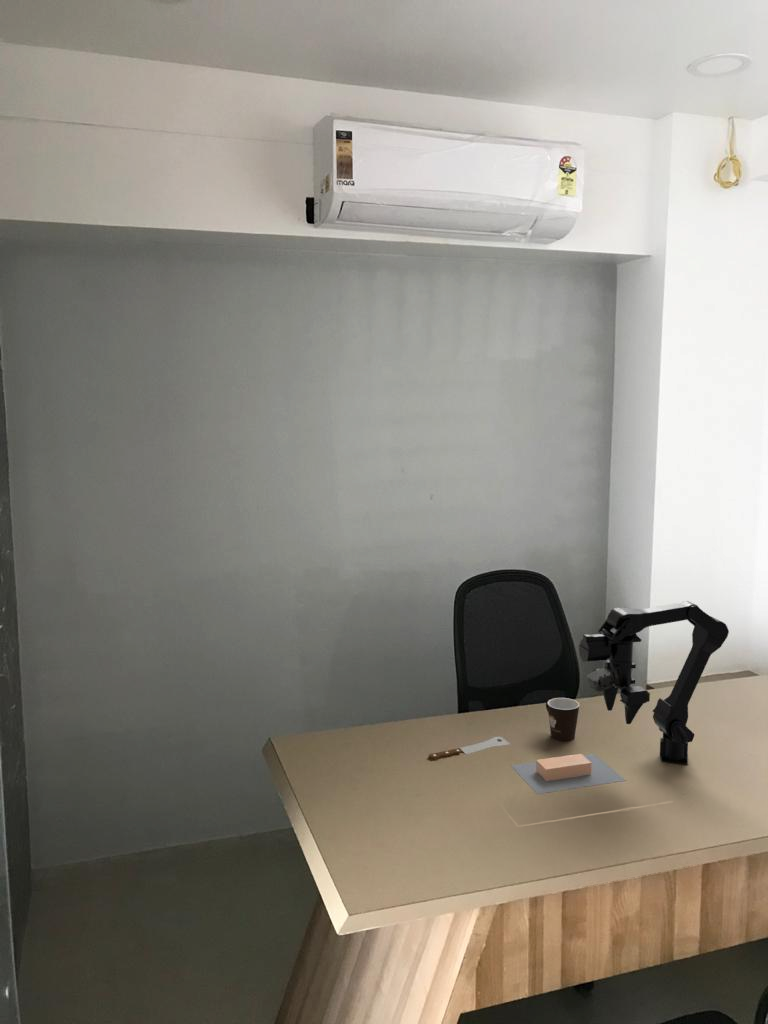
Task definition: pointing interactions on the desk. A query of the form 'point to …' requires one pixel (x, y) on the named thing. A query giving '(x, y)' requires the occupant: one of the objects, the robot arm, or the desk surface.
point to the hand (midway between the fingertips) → (618, 716)
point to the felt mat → (597, 777)
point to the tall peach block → (563, 767)
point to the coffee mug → (562, 718)
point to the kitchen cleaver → (469, 748)
